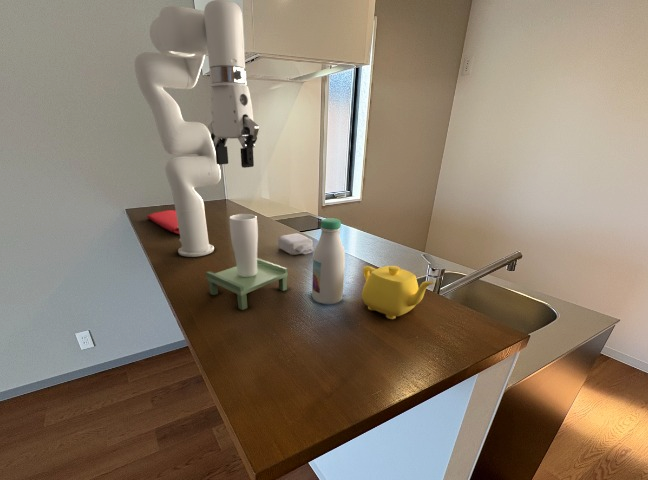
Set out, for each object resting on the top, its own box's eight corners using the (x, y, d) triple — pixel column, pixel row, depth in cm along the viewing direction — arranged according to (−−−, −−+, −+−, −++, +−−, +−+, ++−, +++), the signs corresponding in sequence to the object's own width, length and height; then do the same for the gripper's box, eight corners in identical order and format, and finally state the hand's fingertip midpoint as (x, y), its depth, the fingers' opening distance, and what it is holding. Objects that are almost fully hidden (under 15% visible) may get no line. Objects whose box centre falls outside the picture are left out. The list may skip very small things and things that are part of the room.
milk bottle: (344, 293, 84) (350, 217, 75) (339, 306, 77) (344, 225, 68) (316, 289, 86) (318, 215, 77) (308, 302, 80) (310, 222, 70)
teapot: (438, 316, 73) (448, 273, 68) (411, 334, 66) (420, 287, 62) (373, 290, 85) (378, 252, 80) (346, 303, 79) (349, 262, 74)
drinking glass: (256, 280, 80) (252, 220, 73) (230, 278, 81) (224, 219, 74) (263, 270, 86) (260, 214, 79) (239, 268, 87) (234, 213, 80)
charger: (299, 261, 106) (278, 248, 118) (322, 256, 110) (299, 244, 121) (299, 247, 104) (277, 236, 115) (322, 242, 108) (299, 232, 119)
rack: (208, 293, 85) (205, 272, 82) (254, 276, 95) (252, 256, 92) (242, 310, 76) (240, 287, 73) (288, 289, 87) (287, 268, 84)
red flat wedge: (177, 214, 171) (176, 207, 169) (208, 230, 141) (207, 222, 140) (147, 219, 163) (145, 211, 161) (173, 237, 133) (171, 228, 132)
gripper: (268, 77, 65) (270, 167, 74) (219, 84, 76) (225, 162, 84) (239, 73, 61) (245, 169, 69) (191, 81, 71) (201, 164, 79)
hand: (234, 165), depth 76 cm, fingers open, 9 cm apart
